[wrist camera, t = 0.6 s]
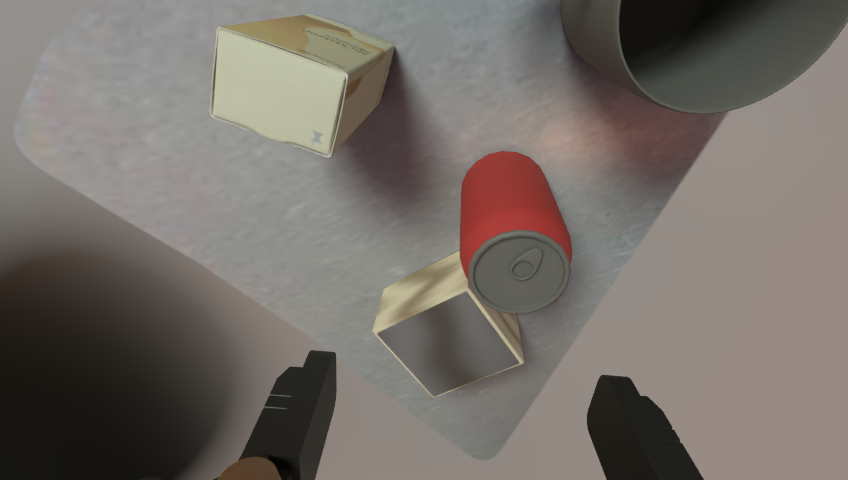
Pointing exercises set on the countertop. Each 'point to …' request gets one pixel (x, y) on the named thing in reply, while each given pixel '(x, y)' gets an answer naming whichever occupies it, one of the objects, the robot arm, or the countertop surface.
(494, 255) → the beer can
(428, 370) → the birch plinth
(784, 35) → the mug
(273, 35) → the skincare box
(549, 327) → the countertop surface
